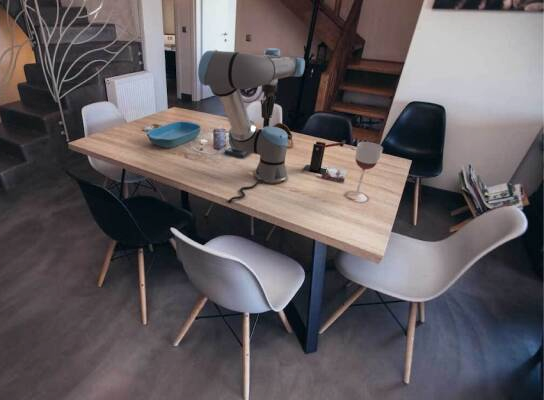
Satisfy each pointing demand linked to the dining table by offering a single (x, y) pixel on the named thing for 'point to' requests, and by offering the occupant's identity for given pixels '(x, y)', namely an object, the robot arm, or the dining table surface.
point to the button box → (236, 153)
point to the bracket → (316, 159)
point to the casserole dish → (174, 134)
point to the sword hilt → (285, 131)
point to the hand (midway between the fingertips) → (265, 130)
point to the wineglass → (366, 161)
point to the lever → (334, 144)
